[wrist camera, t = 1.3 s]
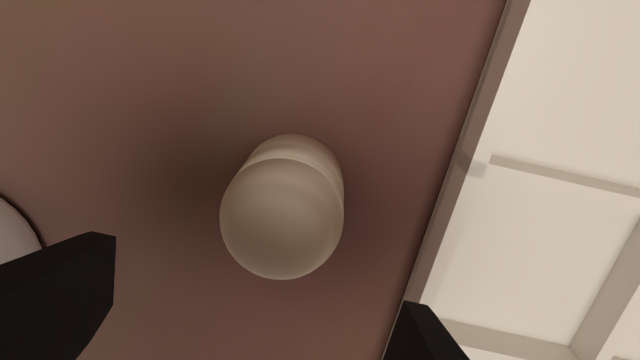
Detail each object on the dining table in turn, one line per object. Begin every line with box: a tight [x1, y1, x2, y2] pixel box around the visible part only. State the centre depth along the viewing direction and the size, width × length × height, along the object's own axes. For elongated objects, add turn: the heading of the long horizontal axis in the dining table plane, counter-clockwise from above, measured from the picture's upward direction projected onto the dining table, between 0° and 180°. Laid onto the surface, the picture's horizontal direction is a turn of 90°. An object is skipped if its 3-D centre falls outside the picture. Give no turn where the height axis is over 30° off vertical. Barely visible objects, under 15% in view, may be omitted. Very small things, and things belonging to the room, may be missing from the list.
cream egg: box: [219, 134, 344, 280], centre depth 16 cm, size 4×4×6 cm
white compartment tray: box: [381, 0, 640, 360], centre depth 18 cm, size 25×17×2 cm
